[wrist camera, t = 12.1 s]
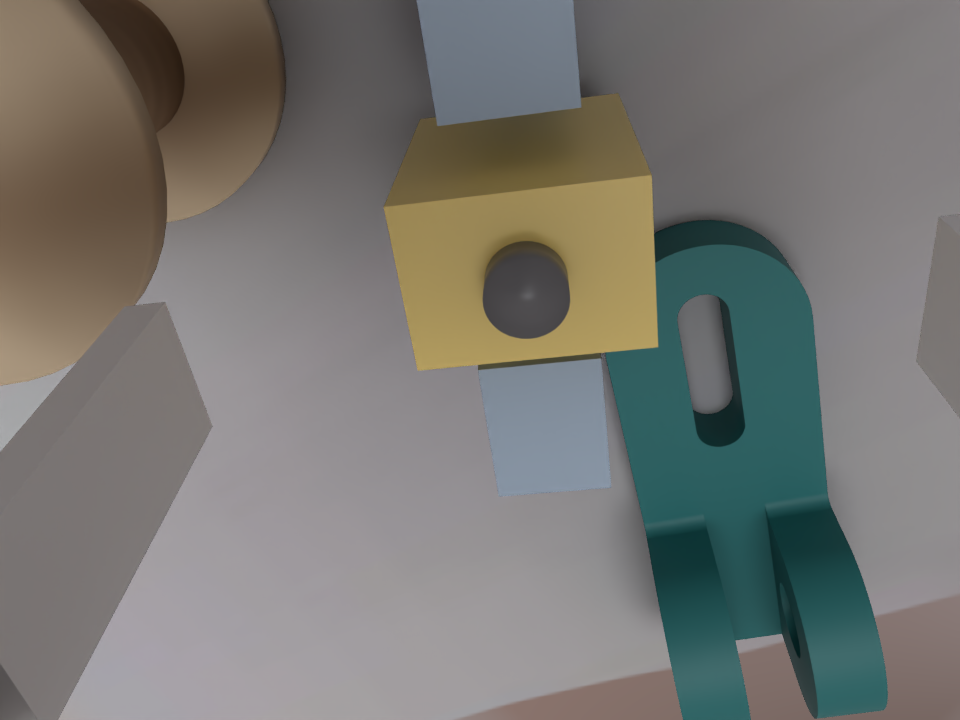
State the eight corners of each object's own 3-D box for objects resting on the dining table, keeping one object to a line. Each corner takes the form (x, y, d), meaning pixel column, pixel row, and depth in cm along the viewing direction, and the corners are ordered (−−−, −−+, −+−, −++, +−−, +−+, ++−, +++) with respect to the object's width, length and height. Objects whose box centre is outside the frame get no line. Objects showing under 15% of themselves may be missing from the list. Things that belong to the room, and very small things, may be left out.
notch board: (442, -105, 23) (401, -90, 15) (550, -122, 23) (564, -116, 15) (505, 334, 30) (498, 496, 22) (589, 326, 30) (611, 487, 22)
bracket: (821, 584, 36) (890, 751, 29) (665, 608, 37) (695, 774, 30) (784, 196, 27) (870, 306, 20) (582, 244, 28) (599, 362, 22)
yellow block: (419, 119, 23) (376, 225, 16) (618, 93, 23) (658, 192, 16) (443, 250, 25) (412, 393, 18) (626, 229, 25) (664, 370, 18)
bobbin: (-102, -98, 24) (-514, -74, 14) (232, -156, 23) (24, -171, 13) (39, 228, 29) (-197, 405, 19) (319, 194, 28) (212, 364, 18)
